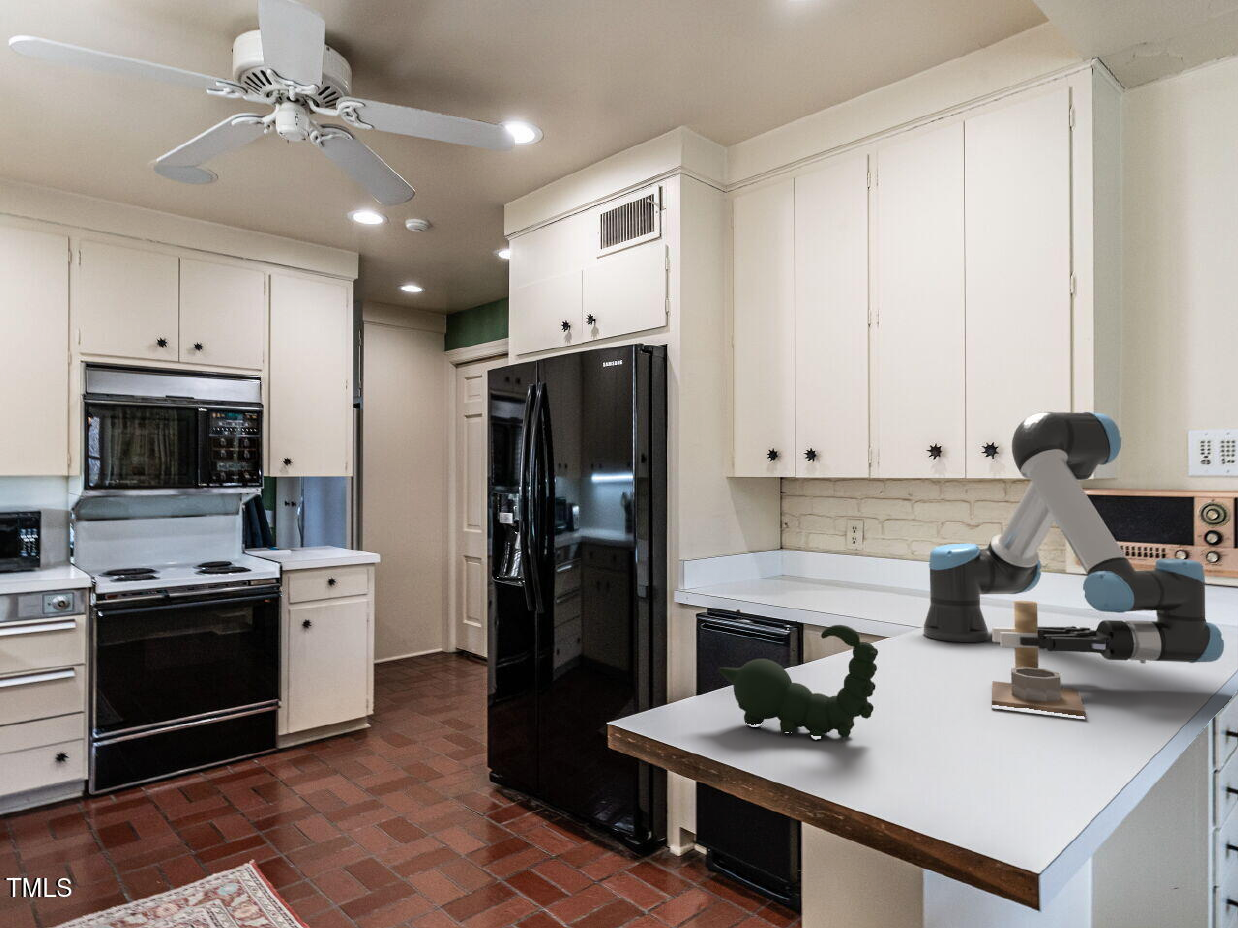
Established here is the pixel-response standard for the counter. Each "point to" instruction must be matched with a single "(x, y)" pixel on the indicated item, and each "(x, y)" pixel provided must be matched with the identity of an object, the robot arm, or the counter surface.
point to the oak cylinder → (1026, 624)
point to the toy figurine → (806, 691)
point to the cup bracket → (1037, 692)
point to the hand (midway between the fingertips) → (997, 637)
